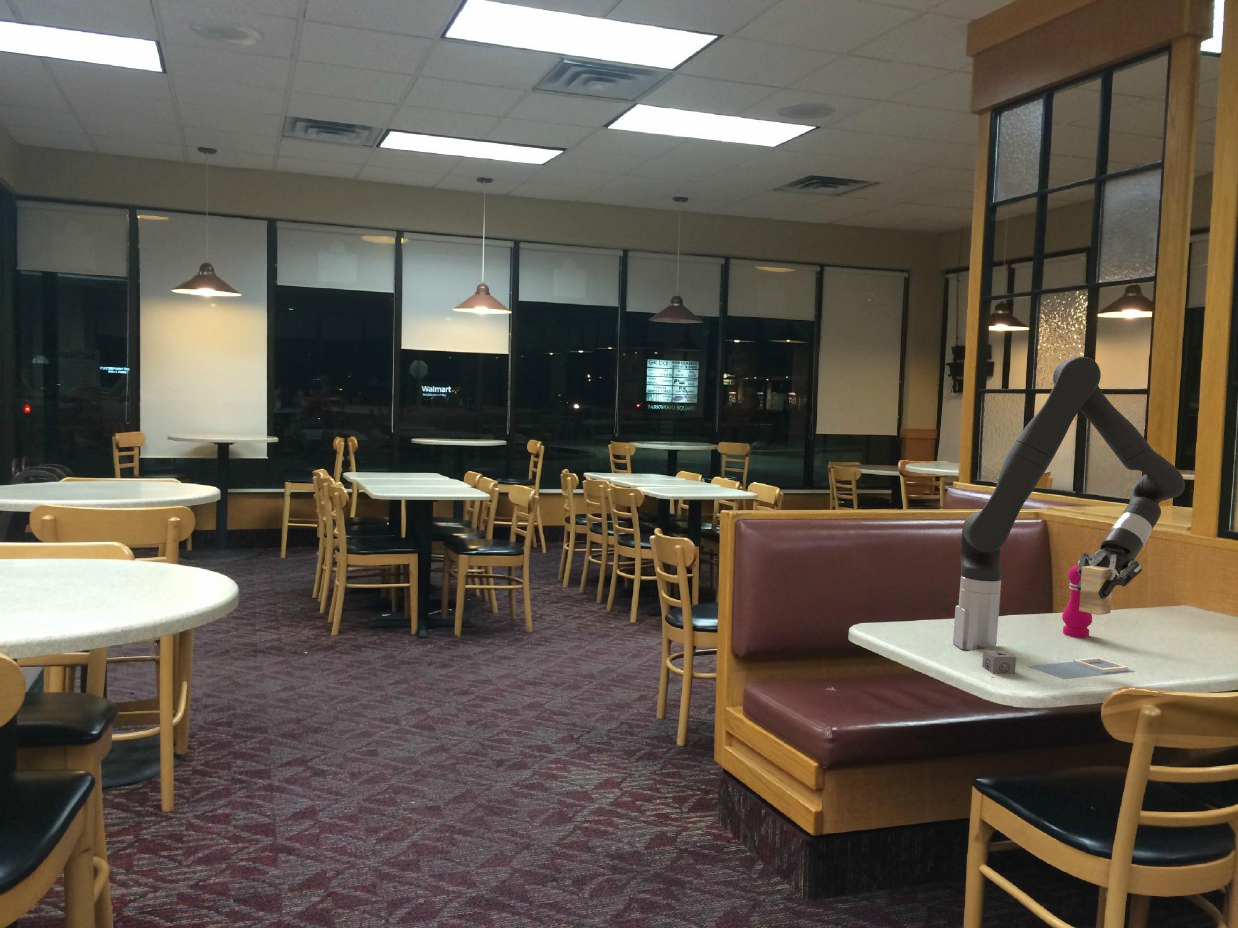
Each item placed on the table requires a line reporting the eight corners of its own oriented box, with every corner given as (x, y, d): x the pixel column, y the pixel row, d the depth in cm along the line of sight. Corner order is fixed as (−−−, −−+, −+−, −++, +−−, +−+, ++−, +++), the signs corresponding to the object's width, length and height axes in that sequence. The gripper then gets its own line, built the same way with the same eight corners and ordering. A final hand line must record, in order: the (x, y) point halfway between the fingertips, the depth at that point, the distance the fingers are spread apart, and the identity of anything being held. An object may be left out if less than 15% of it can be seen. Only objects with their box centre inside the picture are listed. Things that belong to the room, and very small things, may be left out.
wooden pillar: (1097, 614, 211) (1100, 570, 211) (1079, 610, 215) (1081, 566, 214) (1110, 613, 213) (1113, 568, 213) (1091, 609, 217) (1094, 565, 217)
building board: (1063, 684, 206) (1064, 674, 206) (1026, 671, 215) (1027, 662, 215) (1134, 676, 215) (1135, 667, 214) (1096, 664, 224) (1097, 656, 224)
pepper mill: (1087, 639, 249) (1094, 563, 247) (1057, 634, 253) (1064, 559, 252) (1093, 634, 255) (1099, 560, 253) (1064, 629, 259) (1070, 556, 258)
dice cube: (992, 679, 207) (994, 656, 207) (981, 672, 212) (983, 650, 212) (1014, 679, 208) (1016, 656, 208) (1003, 672, 213) (1005, 650, 212)
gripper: (1091, 522, 223) (1055, 577, 218) (1151, 530, 211) (1114, 588, 205) (1103, 543, 226) (1068, 598, 221) (1163, 553, 214) (1127, 611, 208)
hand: (1090, 593), depth 213 cm, fingers closed on wooden pillar, 4 cm apart
